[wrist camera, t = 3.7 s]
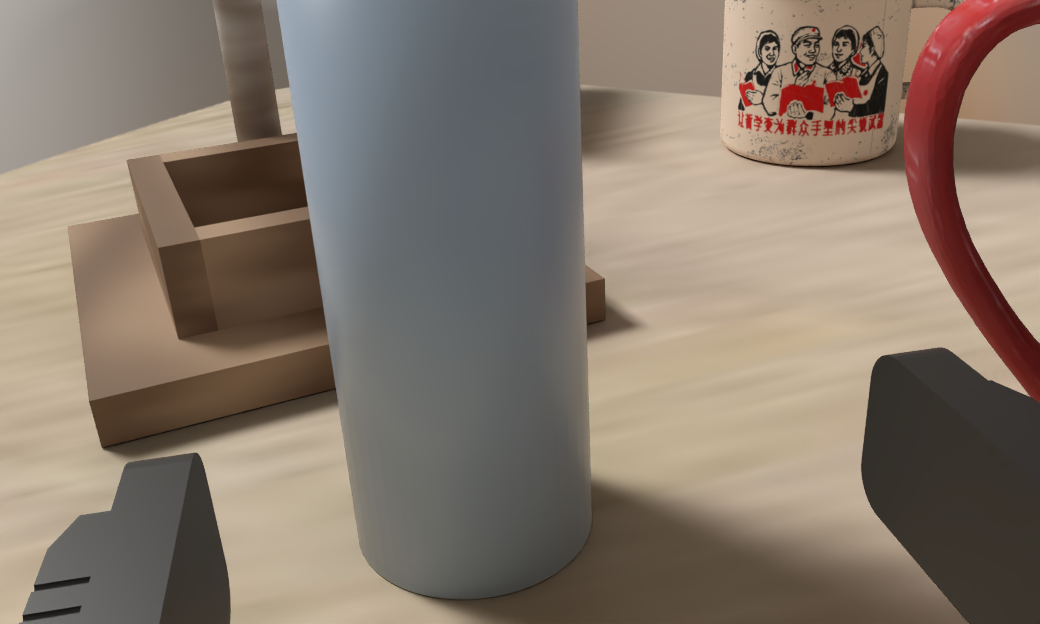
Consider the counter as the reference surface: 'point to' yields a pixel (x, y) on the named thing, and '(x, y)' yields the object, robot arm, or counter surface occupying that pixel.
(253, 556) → the counter surface
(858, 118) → the teacup with lid
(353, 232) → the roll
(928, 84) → the mug
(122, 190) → the counter surface
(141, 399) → the holder
